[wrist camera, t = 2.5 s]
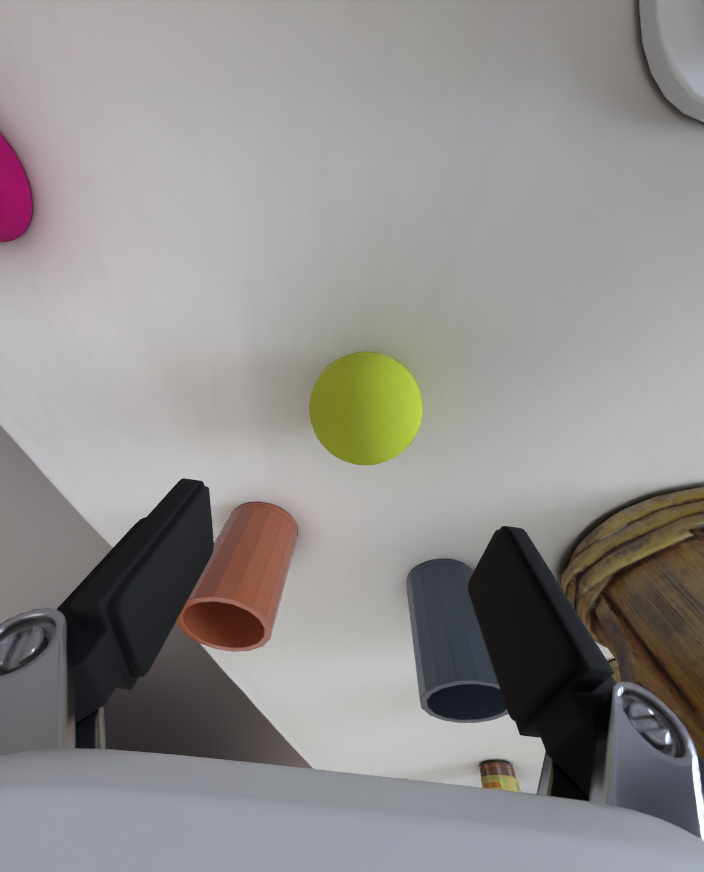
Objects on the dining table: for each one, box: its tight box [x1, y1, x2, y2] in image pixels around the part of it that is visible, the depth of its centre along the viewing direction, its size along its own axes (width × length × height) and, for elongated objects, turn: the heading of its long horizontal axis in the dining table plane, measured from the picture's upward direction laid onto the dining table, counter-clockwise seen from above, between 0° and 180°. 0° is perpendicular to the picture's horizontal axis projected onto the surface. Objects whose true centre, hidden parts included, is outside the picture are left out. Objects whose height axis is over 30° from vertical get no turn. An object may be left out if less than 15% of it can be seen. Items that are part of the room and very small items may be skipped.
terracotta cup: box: [176, 502, 298, 652], centre depth 25 cm, size 7×7×9 cm
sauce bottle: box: [480, 761, 521, 792], centre depth 47 cm, size 7×6×20 cm
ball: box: [310, 352, 423, 465], centre depth 18 cm, size 7×7×7 cm
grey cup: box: [406, 559, 508, 723], centre depth 27 cm, size 7×7×10 cm
